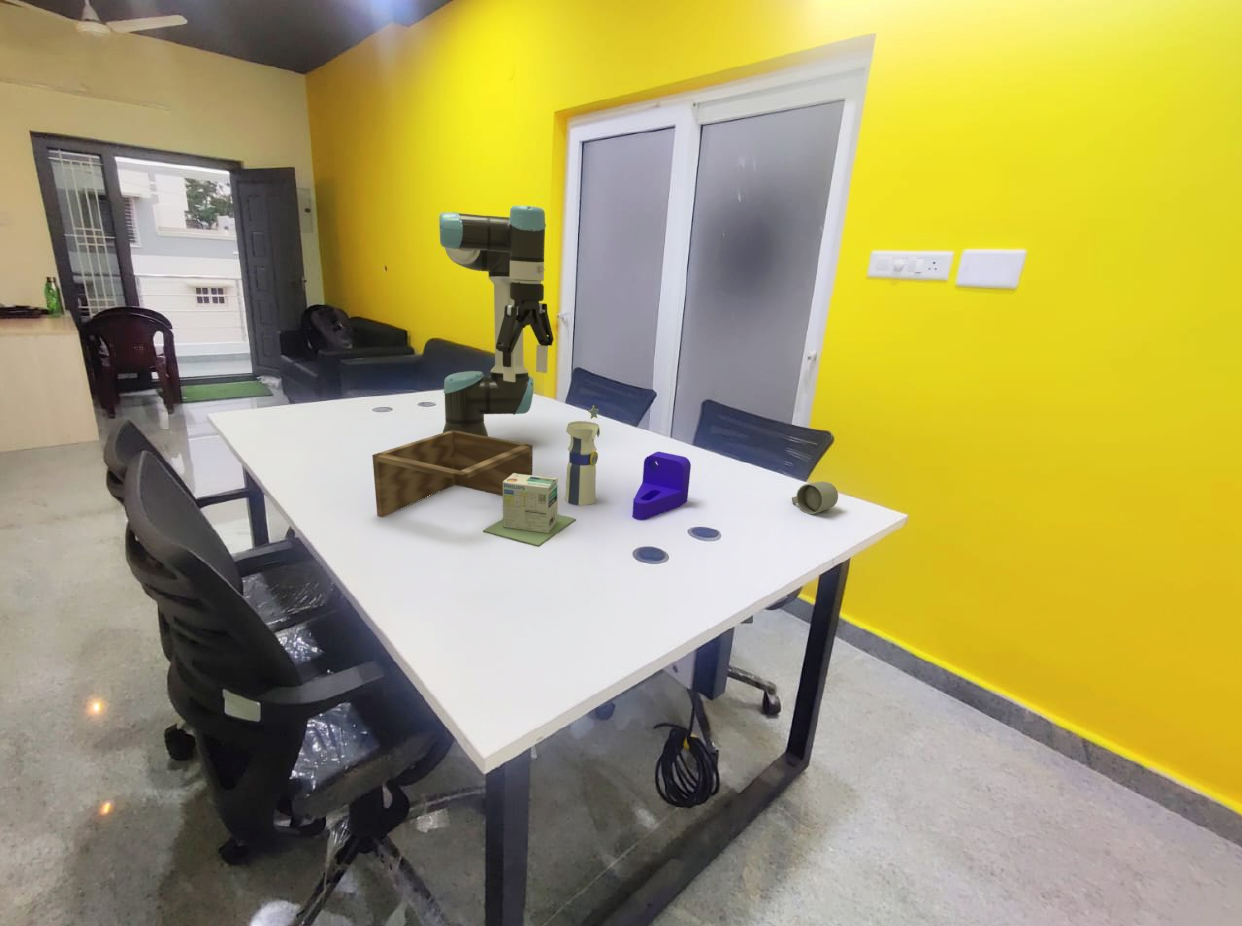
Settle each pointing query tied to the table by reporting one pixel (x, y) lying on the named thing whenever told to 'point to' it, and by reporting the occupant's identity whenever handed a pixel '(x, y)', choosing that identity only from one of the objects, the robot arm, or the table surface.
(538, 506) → the light bulb box
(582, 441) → the belted robe figure
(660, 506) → the bracket
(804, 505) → the ceramic mug
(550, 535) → the mat
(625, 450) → the table surface
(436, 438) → the open wooden box frame
